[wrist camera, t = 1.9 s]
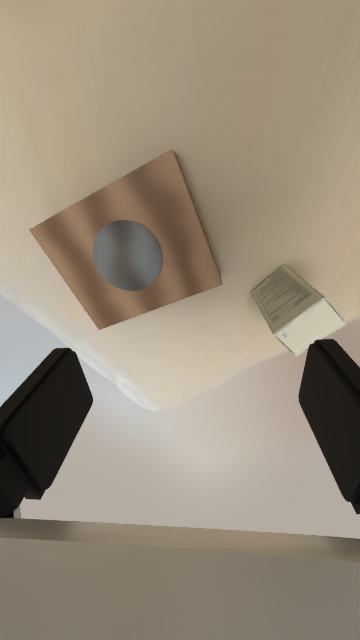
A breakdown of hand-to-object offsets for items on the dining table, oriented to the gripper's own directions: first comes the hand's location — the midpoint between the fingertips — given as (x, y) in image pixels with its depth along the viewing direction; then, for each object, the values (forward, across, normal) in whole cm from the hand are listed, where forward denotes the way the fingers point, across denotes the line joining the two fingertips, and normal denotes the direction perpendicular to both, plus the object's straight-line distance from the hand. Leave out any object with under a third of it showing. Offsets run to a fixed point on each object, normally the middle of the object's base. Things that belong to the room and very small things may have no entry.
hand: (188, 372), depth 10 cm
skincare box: (+27, -11, +7) cm, 30 cm away
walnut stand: (+26, +9, 0) cm, 28 cm away
